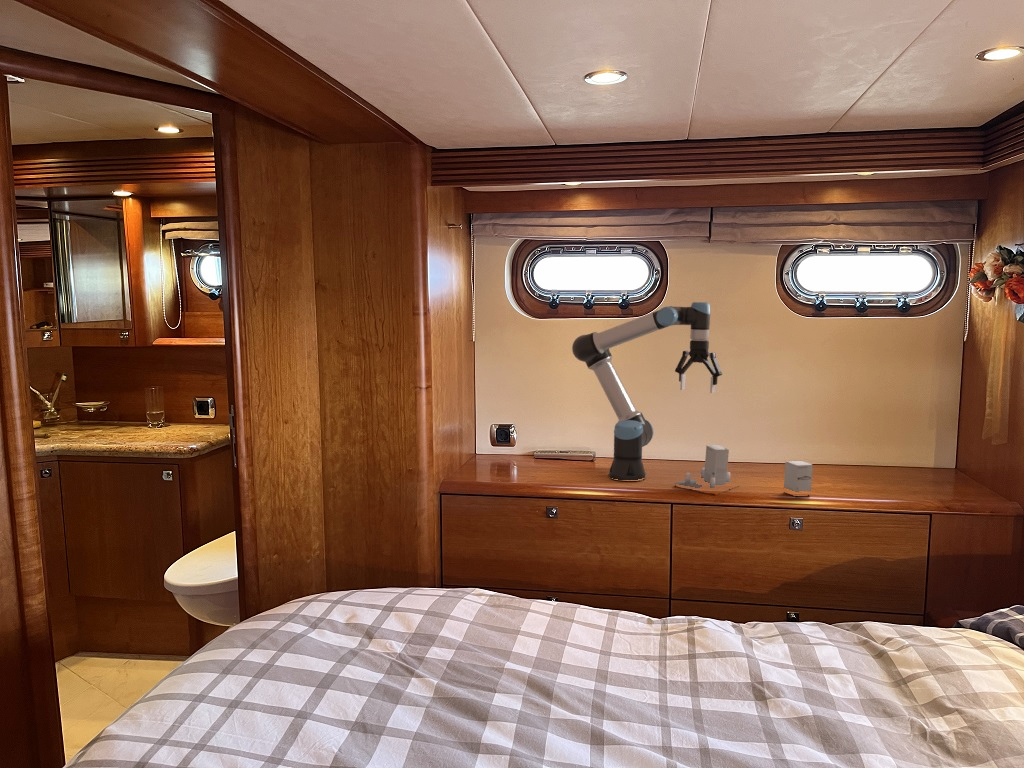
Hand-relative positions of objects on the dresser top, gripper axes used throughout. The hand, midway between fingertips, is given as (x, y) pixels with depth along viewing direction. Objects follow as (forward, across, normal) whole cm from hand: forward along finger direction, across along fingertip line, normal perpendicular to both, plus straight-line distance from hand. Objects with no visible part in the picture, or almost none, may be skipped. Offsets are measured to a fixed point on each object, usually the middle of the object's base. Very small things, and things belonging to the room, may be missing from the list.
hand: (697, 391), depth 308 cm
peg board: (+37, -11, +9) cm, 39 cm away
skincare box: (+35, -14, +7) cm, 39 cm away
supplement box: (+37, -42, -4) cm, 56 cm away
